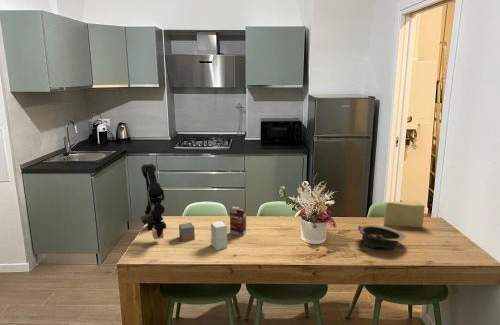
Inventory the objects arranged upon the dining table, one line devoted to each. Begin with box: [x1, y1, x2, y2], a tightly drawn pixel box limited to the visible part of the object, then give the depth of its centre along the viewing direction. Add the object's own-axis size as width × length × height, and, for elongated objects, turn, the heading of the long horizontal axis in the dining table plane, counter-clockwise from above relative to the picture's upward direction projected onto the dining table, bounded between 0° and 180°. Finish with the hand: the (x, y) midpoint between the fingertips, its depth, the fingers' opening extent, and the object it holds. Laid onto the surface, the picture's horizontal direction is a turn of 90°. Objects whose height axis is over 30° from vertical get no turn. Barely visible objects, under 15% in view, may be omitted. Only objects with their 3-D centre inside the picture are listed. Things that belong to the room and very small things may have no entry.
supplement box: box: [229, 206, 247, 237], centre depth 223 cm, size 9×5×16 cm, turn 68°
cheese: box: [383, 200, 426, 228], centre depth 235 cm, size 22×10×15 cm, turn 88°
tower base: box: [178, 231, 196, 243], centre depth 219 cm, size 7×7×4 cm
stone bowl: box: [357, 224, 406, 251], centre depth 210 cm, size 25×25×9 cm
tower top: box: [178, 222, 195, 235], centre depth 218 cm, size 7×7×4 cm
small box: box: [210, 220, 228, 251], centre depth 207 cm, size 8×6×13 cm
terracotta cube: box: [151, 228, 164, 240], centre depth 213 cm, size 5×5×5 cm
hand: (157, 235), depth 213 cm, fingers closed on terracotta cube, 5 cm apart
